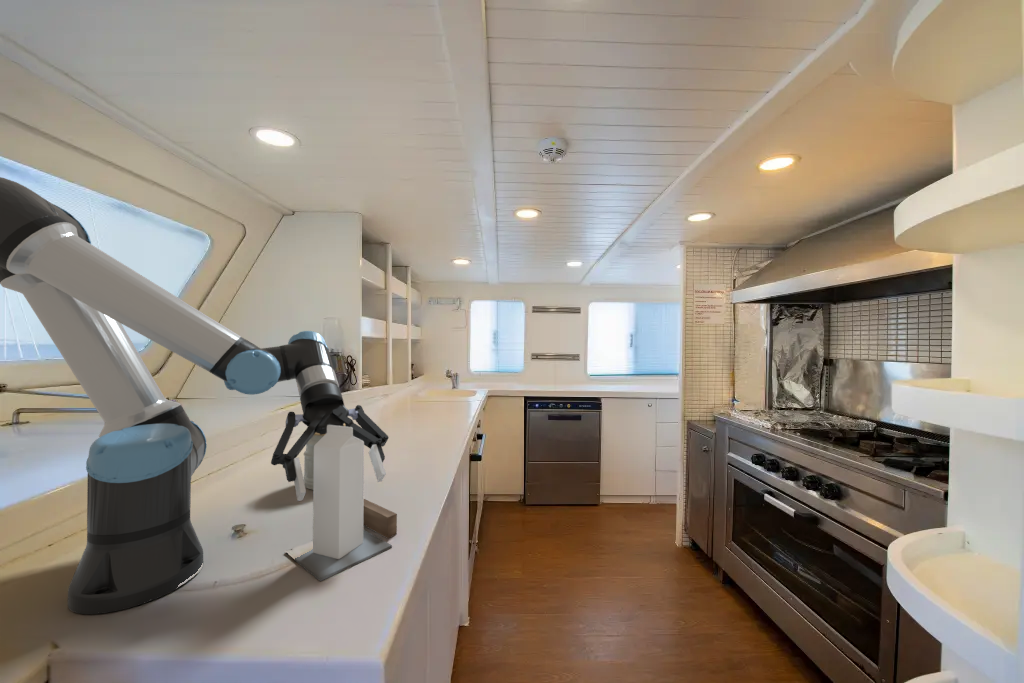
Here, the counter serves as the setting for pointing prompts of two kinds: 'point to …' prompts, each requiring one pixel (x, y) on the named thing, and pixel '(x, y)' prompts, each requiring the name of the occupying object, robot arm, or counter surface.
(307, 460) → the jar
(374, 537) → the guide jig
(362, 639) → the counter surface
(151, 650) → the counter surface
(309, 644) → the counter surface
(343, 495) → the milk
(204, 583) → the counter surface
